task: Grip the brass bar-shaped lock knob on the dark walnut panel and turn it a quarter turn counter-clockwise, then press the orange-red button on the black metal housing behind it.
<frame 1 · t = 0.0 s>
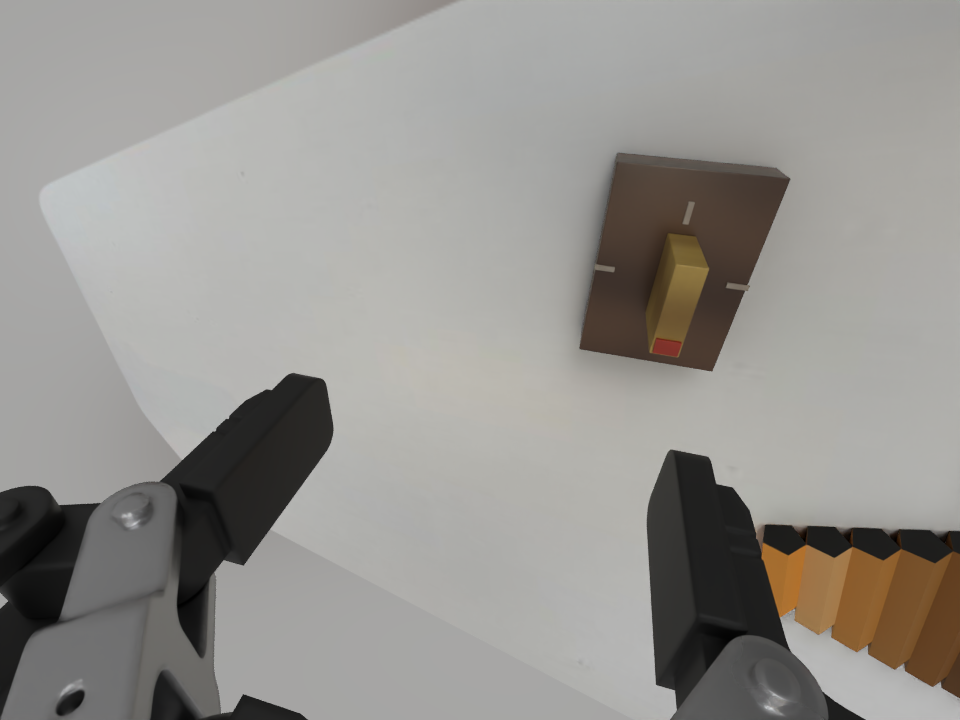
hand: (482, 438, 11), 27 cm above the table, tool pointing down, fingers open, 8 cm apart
pan flute: (887, 607, 48), on the table
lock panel: (665, 260, 35), on the table
lock knob: (673, 294, 30), point 6 cm above the table, hinge at 0.0°
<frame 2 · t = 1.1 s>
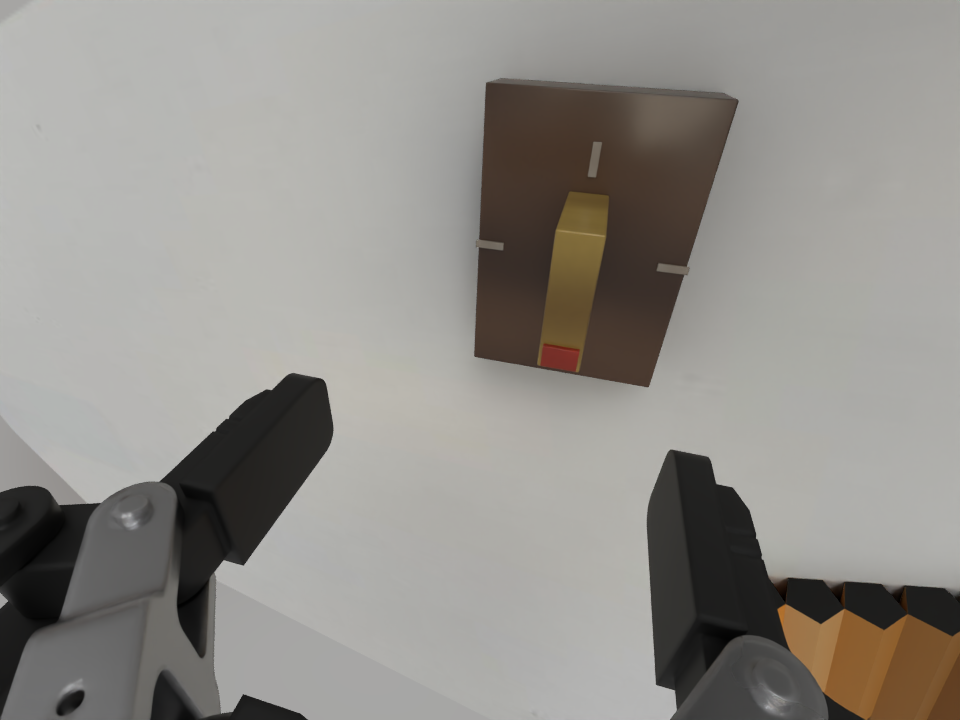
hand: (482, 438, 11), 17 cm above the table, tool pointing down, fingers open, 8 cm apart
pan flute: (890, 674, 39), on the table
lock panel: (582, 235, 25), on the table
lock knob: (573, 280, 20), point 6 cm above the table, hinge at 0.0°
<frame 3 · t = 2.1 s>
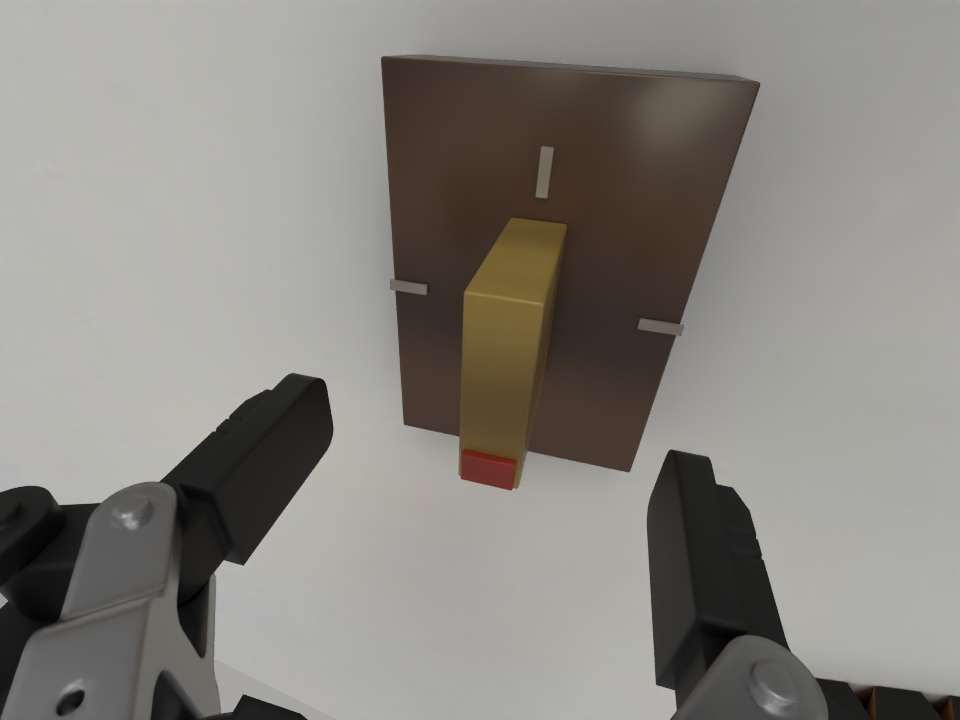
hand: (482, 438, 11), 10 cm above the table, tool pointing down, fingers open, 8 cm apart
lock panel: (540, 271, 19), on the table
lock knob: (513, 349, 14), point 6 cm above the table, hinge at 0.0°
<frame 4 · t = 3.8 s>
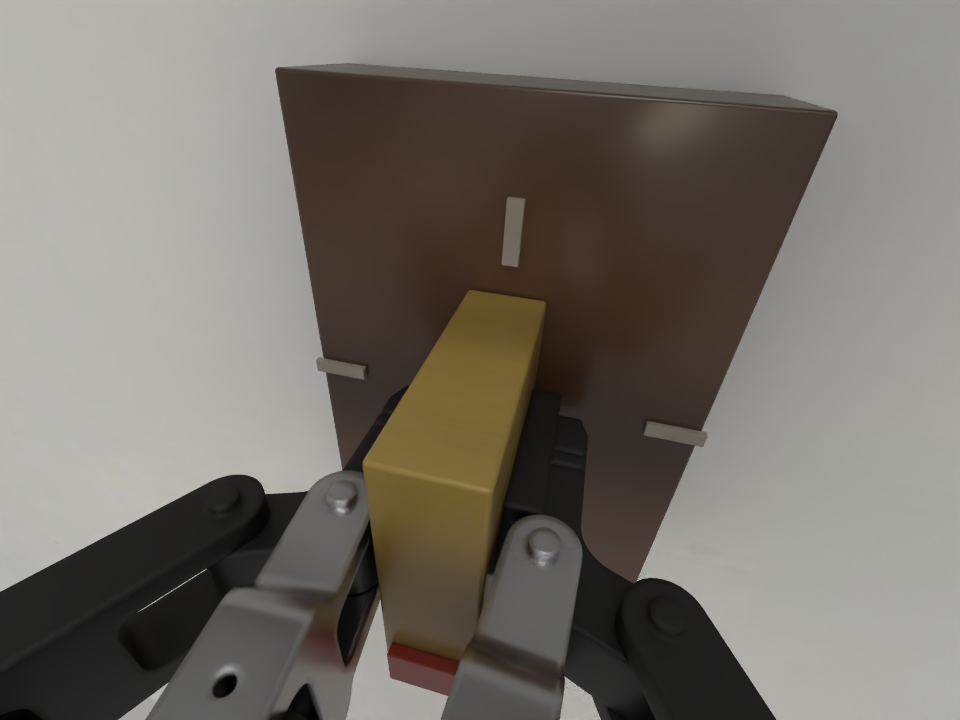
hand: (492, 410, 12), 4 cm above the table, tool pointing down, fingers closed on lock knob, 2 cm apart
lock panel: (518, 339, 15), on the table
lock knob: (469, 481, 10), point 6 cm above the table, hinge at 0.2°, touching gripper
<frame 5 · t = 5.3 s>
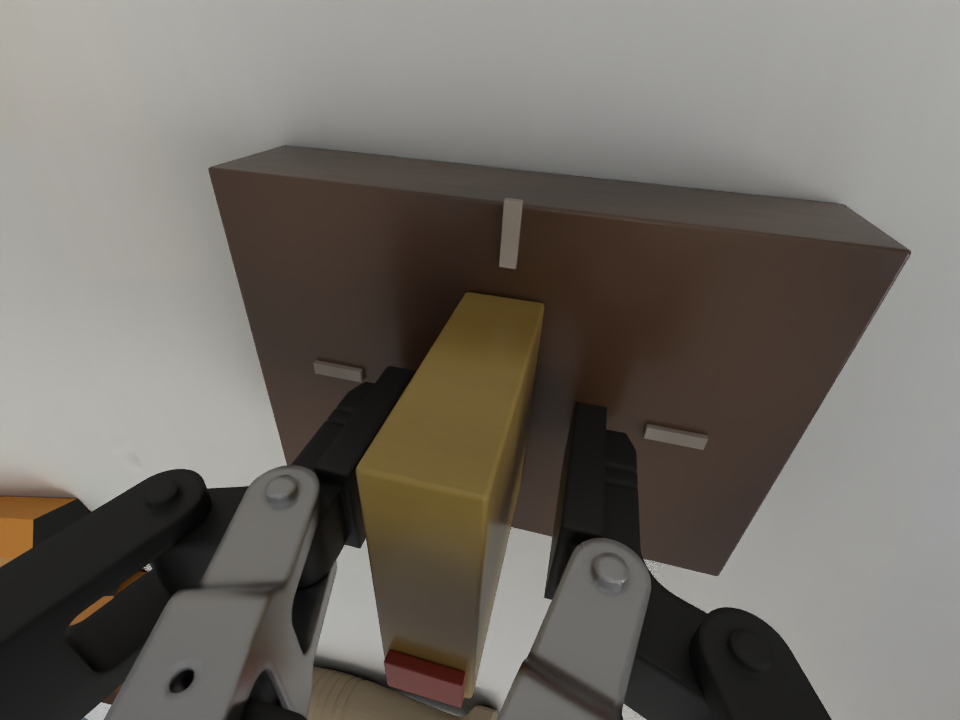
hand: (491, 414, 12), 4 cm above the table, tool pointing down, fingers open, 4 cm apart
pan flute: (74, 593, 38), on the table
handle: (278, 686, 32), point 2 cm above the table
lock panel: (517, 341, 14), on the table
lock knob: (467, 485, 10), point 6 cm above the table, hinge at 90.3°
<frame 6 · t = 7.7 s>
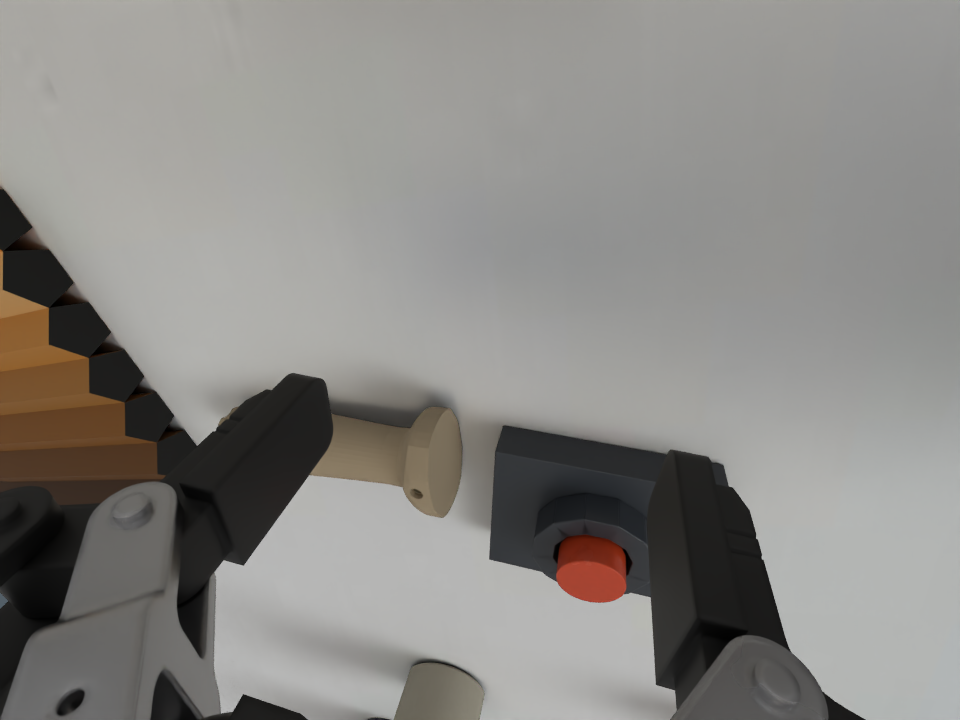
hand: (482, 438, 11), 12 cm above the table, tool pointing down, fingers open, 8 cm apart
pan flute: (27, 377, 36), on the table
handle: (231, 429, 31), point 2 cm above the table
button: (591, 567, 25), point 4 cm above the table, slide at 0.1 cm
travel mug: (448, 677, 48), on the table
button housing: (594, 502, 29), on the table
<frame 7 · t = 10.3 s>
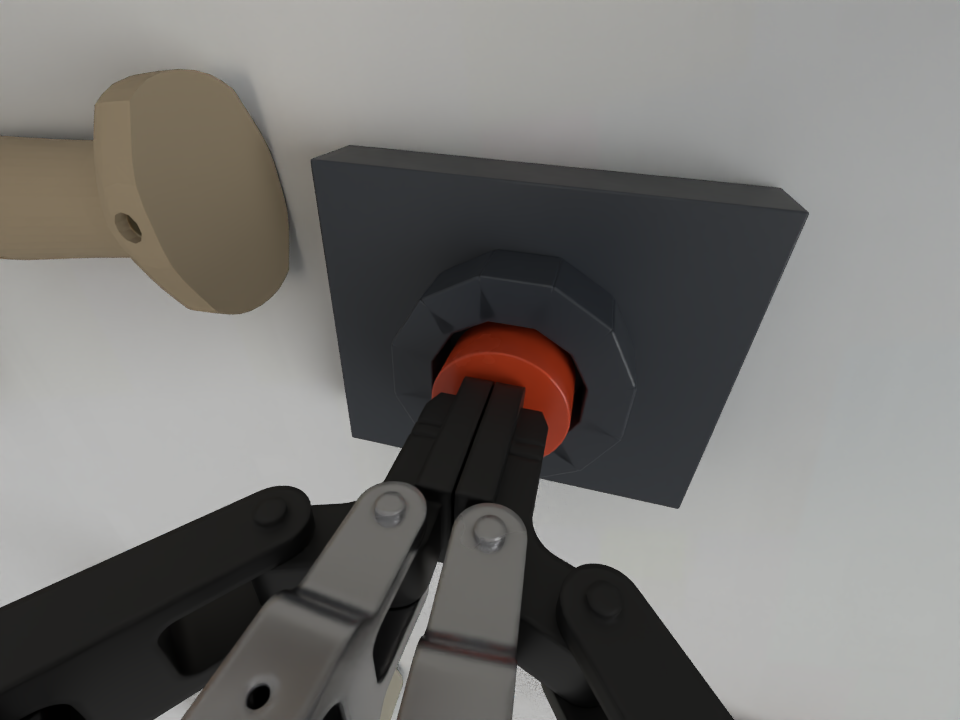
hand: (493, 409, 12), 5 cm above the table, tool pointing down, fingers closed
button: (505, 392, 13), point 4 cm above the table, slide at -0.4 cm, touching gripper
travel mug: (356, 657, 35), on the table
button housing: (529, 321, 16), on the table
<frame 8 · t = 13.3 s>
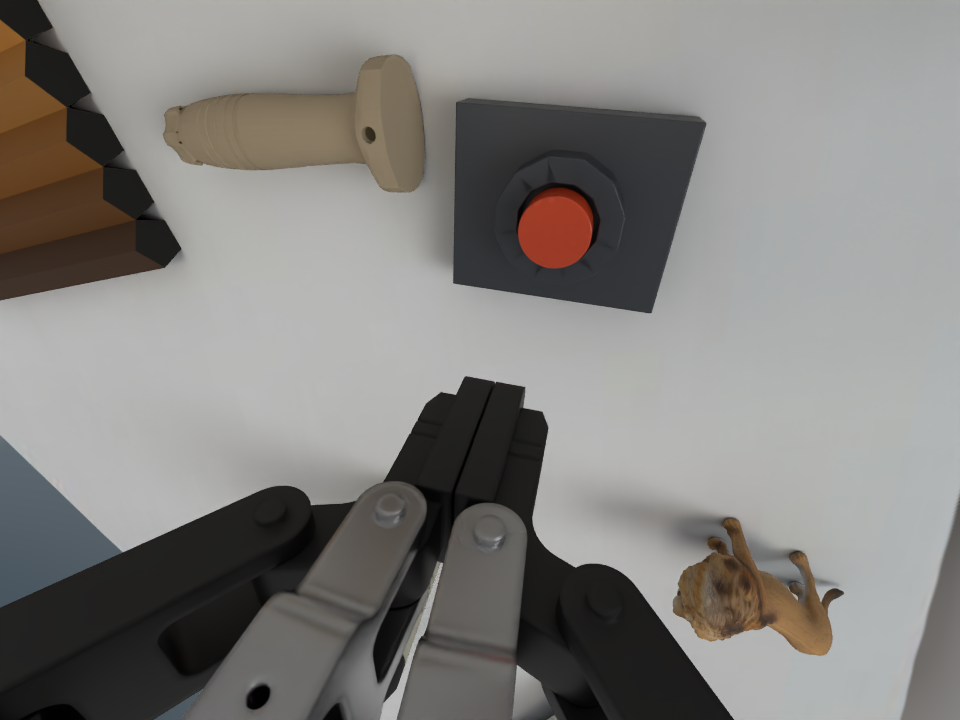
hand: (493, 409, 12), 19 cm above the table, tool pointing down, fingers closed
handle: (180, 135, 29), point 2 cm above the table
button: (556, 228, 23), point 4 cm above the table, slide at 0.1 cm
lion figurine: (747, 548, 39), on the table
travel mug: (417, 507, 46), on the table
button housing: (564, 204, 27), on the table
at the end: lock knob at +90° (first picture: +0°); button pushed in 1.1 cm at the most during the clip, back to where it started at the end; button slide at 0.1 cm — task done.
